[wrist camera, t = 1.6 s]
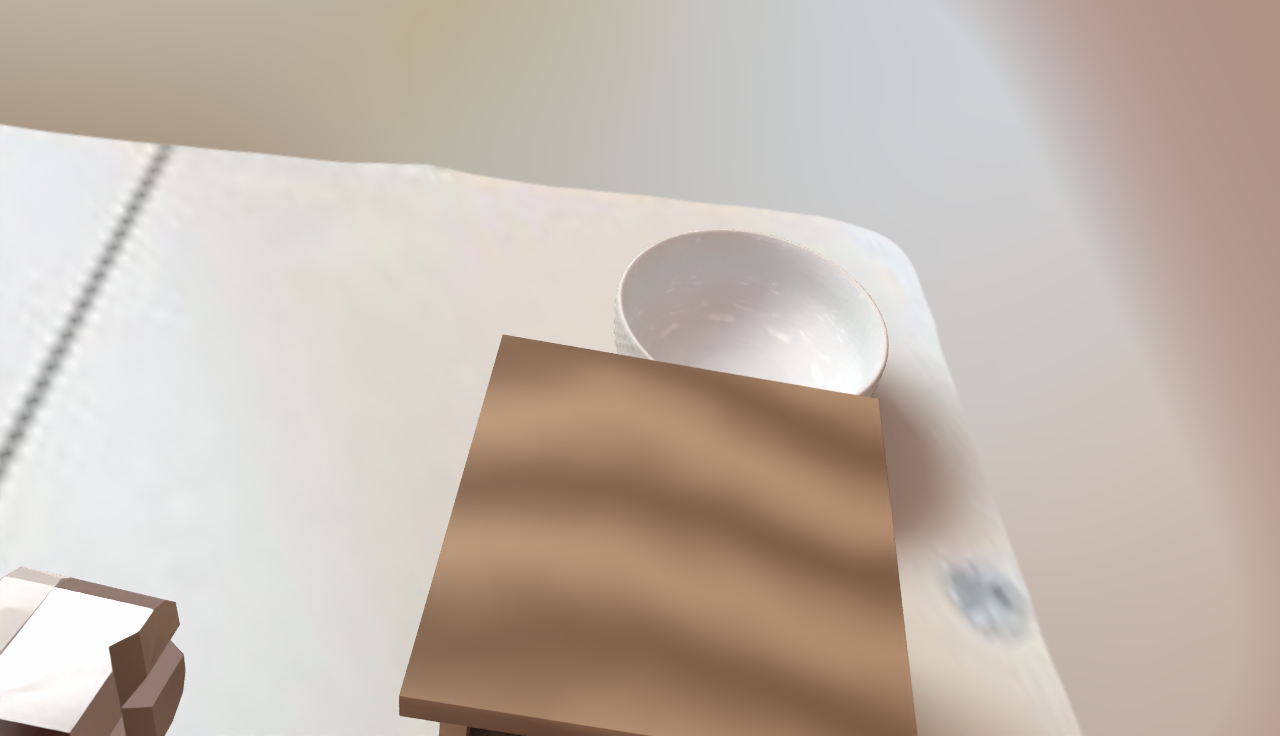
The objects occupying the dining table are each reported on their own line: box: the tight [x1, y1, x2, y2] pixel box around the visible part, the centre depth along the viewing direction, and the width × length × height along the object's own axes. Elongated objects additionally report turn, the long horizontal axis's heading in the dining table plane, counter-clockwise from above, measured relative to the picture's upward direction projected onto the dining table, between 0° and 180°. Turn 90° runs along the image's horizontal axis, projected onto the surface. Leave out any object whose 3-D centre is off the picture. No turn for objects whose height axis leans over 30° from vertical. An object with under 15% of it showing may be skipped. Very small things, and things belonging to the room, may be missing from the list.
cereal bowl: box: [614, 229, 888, 397], centre depth 66 cm, size 17×17×7 cm
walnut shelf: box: [399, 335, 917, 736], centre depth 44 cm, size 17×16×16 cm
